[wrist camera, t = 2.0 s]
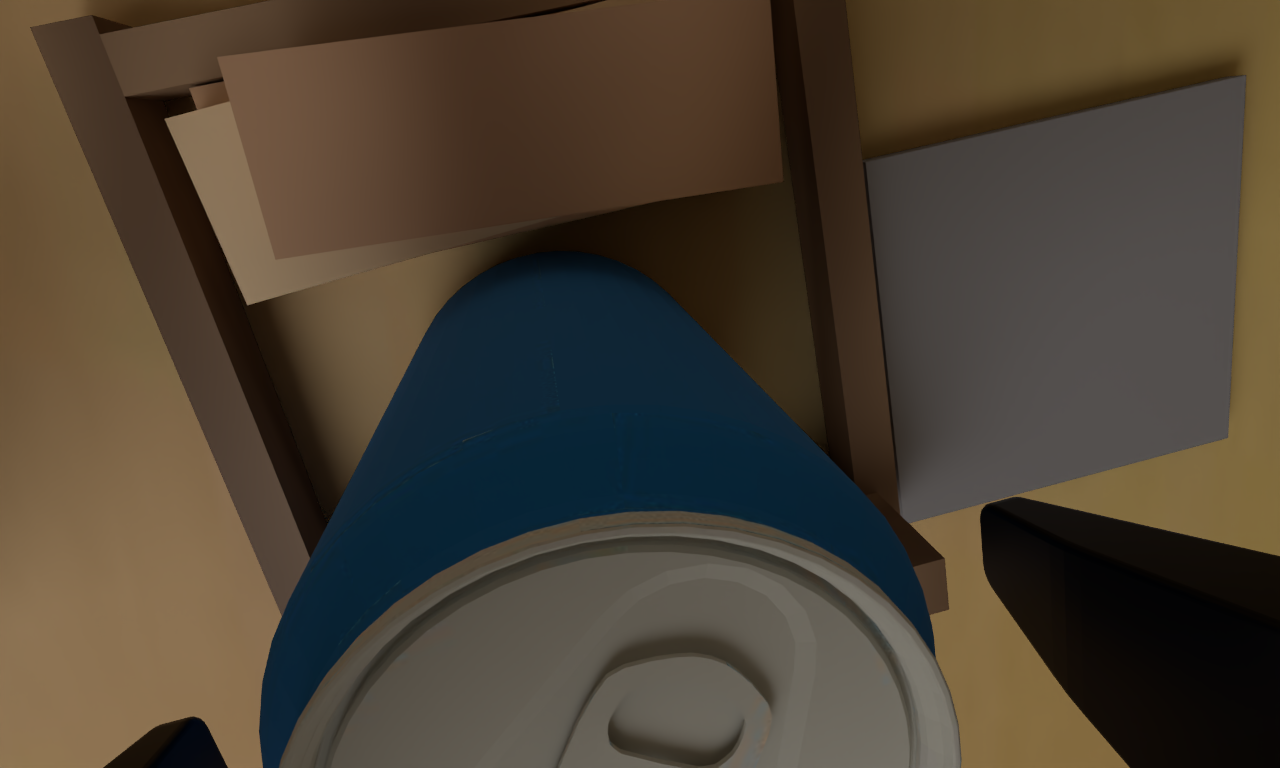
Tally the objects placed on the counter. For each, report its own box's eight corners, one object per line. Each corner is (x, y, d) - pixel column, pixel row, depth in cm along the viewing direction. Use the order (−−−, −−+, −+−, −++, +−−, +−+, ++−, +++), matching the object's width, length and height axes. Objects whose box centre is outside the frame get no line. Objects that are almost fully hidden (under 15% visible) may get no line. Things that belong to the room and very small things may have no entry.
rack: (802, -106, 15) (912, -203, 11) (874, 503, 20) (972, 603, 15) (79, 39, 14) (-112, -7, 10) (329, 647, 19) (272, 797, 14)
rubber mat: (1226, 77, 18) (1246, 75, 17) (1211, 431, 20) (1228, 437, 20) (855, 161, 17) (865, 162, 16) (894, 515, 20) (904, 524, 19)
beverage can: (379, 470, 17) (112, 1080, 6) (470, 200, 16) (343, 337, 5) (639, 546, 19) (812, 1142, 8) (743, 305, 18) (1149, 601, 6)
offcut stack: (717, -11, 15) (776, -58, 12) (746, 176, 17) (808, 185, 13) (213, 93, 15) (113, 77, 11) (282, 282, 16) (211, 322, 12)
